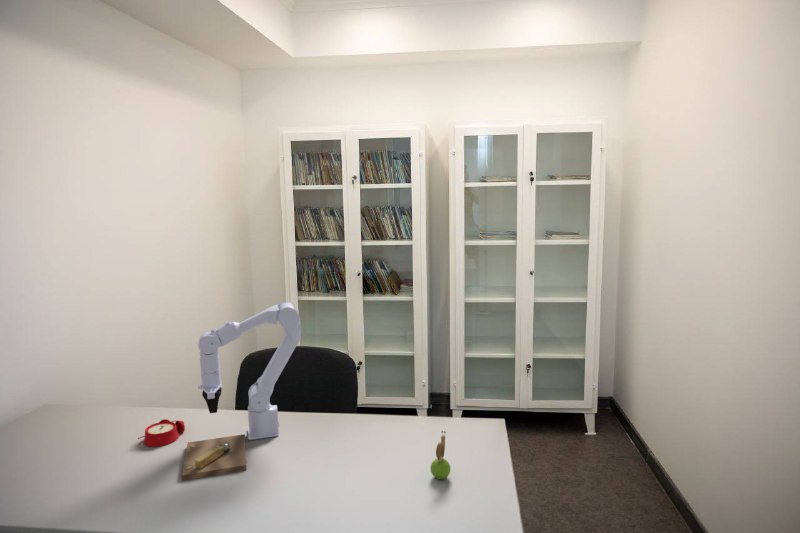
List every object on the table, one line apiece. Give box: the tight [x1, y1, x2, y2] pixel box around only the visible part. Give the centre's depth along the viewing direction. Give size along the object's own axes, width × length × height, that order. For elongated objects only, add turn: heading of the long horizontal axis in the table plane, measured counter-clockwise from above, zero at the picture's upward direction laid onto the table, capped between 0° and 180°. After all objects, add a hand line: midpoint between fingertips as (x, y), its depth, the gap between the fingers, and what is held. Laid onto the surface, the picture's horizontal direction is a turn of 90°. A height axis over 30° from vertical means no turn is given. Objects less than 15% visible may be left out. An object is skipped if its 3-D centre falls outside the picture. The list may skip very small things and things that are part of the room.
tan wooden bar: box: [195, 441, 230, 469], centre depth 154 cm, size 12×3×2 cm, turn 155°
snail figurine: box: [430, 430, 451, 480], centre depth 145 cm, size 5×6×12 cm
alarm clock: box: [137, 418, 186, 448], centre depth 172 cm, size 10×6×15 cm
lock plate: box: [181, 434, 247, 481], centre depth 158 cm, size 17×20×2 cm
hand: (213, 412), depth 168 cm, fingers closed
